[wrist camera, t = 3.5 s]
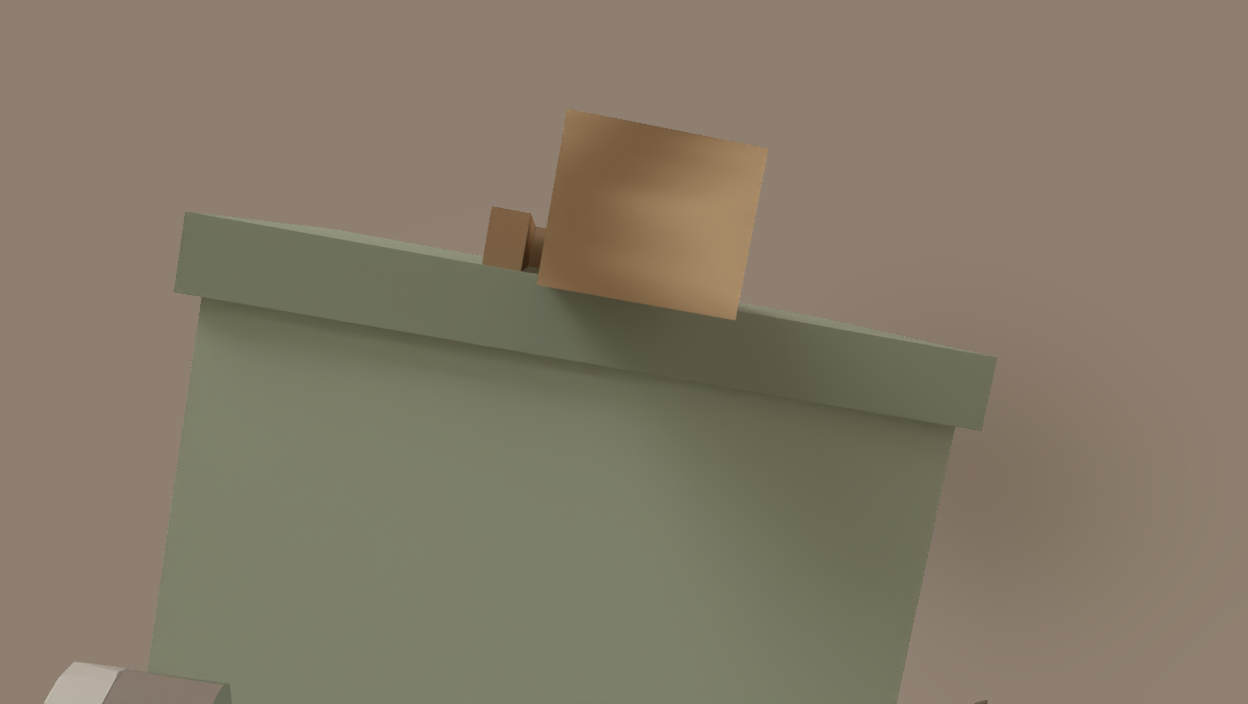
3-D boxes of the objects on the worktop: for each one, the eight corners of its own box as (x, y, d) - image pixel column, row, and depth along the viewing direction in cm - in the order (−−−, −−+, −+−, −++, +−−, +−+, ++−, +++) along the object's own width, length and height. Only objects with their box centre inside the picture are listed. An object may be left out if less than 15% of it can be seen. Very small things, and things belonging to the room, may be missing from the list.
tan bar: (536, 285, 16) (566, 108, 16) (541, 269, 34) (556, 185, 34) (735, 320, 17) (768, 148, 17) (638, 287, 35) (653, 203, 34)
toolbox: (48, 1179, 26) (193, 150, 23) (245, 813, 43) (341, 194, 40) (806, 1244, 28) (1009, 301, 25) (708, 870, 45) (824, 283, 42)
